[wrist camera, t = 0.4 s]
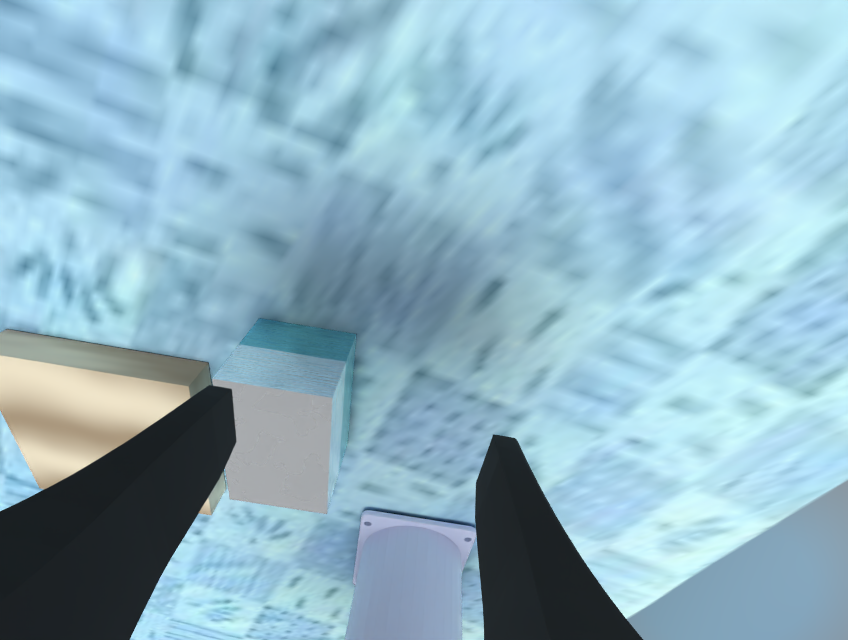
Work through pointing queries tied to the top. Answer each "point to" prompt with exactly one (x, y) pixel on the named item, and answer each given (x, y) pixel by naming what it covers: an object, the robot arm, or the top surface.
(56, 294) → the top surface
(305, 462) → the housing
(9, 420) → the stand
